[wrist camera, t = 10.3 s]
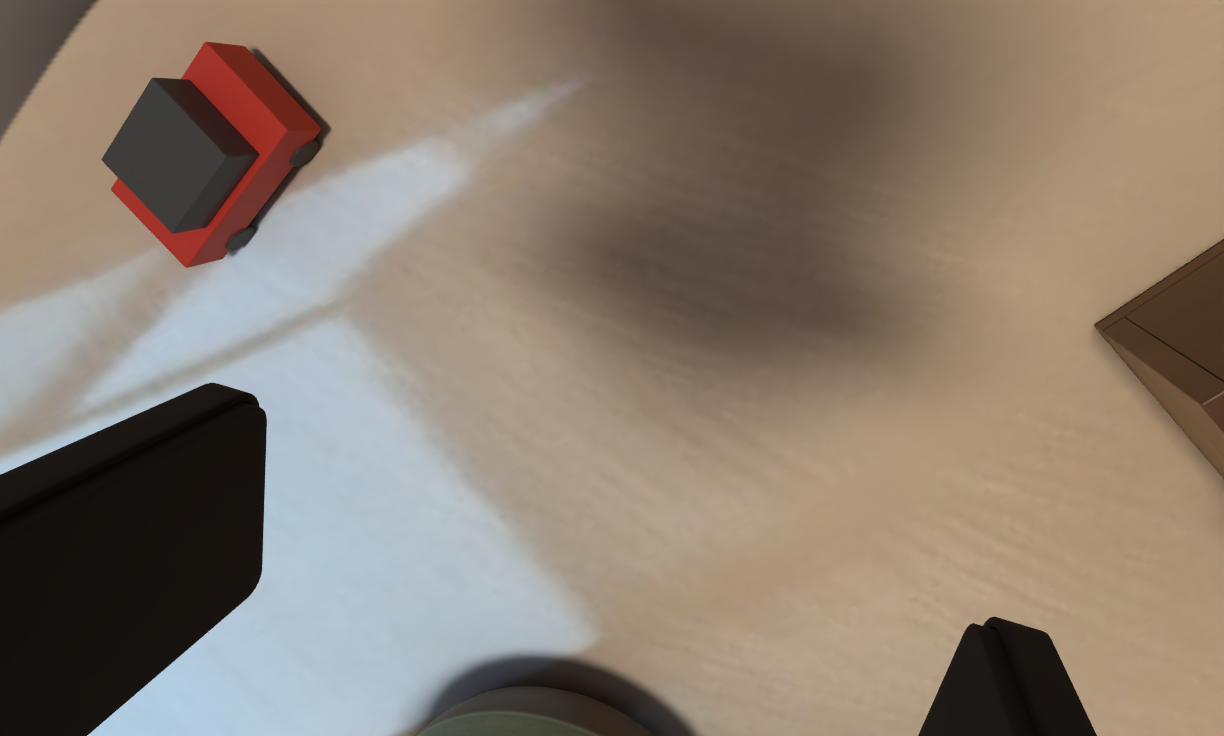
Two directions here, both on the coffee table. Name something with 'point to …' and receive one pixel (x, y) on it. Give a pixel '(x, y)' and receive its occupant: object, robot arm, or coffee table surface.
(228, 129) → the car
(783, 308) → the coffee table surface
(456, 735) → the vase
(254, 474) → the robot arm
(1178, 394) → the chest
